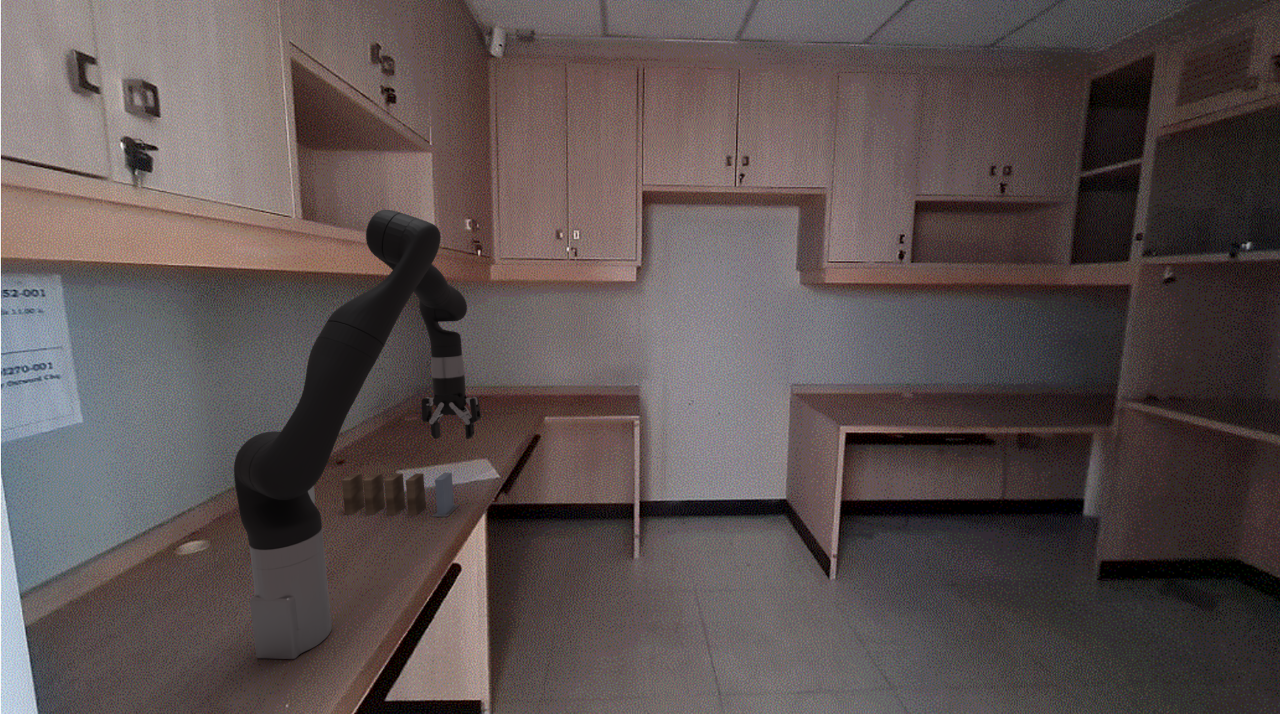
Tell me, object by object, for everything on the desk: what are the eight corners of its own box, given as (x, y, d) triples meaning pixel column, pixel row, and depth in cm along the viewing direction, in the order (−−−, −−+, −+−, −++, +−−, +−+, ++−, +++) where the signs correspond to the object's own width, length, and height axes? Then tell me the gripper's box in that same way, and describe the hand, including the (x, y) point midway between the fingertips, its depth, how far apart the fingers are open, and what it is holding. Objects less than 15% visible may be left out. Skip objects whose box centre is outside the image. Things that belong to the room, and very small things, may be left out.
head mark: (447, 517, 123) (447, 516, 123) (431, 516, 123) (431, 516, 123) (459, 505, 130) (459, 504, 130) (444, 505, 130) (444, 504, 130)
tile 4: (373, 514, 125) (370, 480, 124) (366, 514, 125) (362, 480, 124) (385, 506, 130) (382, 473, 129) (377, 506, 130) (374, 473, 129)
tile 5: (352, 514, 126) (349, 480, 125) (345, 514, 126) (341, 480, 125) (364, 506, 130) (361, 473, 129) (357, 506, 131) (354, 473, 130)
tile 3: (394, 515, 125) (392, 480, 124) (387, 514, 125) (384, 480, 124) (405, 506, 130) (402, 473, 129) (398, 506, 130) (395, 473, 129)
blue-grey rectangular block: (445, 514, 124) (442, 479, 123) (437, 514, 124) (434, 479, 123) (453, 506, 129) (451, 472, 128) (446, 506, 129) (444, 472, 128)
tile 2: (416, 515, 124) (413, 480, 123) (408, 515, 125) (405, 480, 124) (425, 506, 129) (423, 473, 128) (418, 506, 130) (415, 473, 129)
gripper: (482, 371, 125) (486, 434, 128) (429, 371, 127) (434, 433, 129) (468, 376, 118) (473, 443, 120) (412, 376, 120) (418, 442, 122)
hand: (453, 438), depth 125 cm, fingers open, 8 cm apart
